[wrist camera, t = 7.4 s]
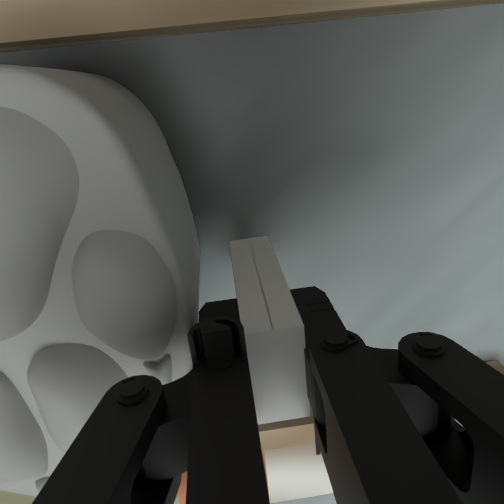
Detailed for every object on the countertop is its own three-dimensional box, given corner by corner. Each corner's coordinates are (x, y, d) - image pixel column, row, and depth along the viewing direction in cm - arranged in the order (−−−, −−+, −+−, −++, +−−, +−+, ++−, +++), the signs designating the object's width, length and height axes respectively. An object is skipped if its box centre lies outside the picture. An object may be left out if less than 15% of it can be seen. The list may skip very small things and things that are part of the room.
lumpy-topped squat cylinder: (143, 54, 16) (81, 23, 8) (231, 339, 21) (247, 497, 13) (-126, 124, 16) (-457, 164, 8) (24, 393, 21) (-89, 586, 13)
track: (-715, -177, 12) (-1298, -344, 7) (580, -260, 14) (763, -429, 9) (-180, 569, 24) (-274, 687, 19) (482, 462, 26) (543, 545, 21)
